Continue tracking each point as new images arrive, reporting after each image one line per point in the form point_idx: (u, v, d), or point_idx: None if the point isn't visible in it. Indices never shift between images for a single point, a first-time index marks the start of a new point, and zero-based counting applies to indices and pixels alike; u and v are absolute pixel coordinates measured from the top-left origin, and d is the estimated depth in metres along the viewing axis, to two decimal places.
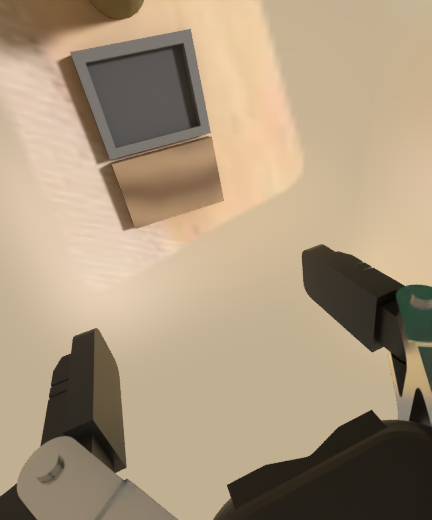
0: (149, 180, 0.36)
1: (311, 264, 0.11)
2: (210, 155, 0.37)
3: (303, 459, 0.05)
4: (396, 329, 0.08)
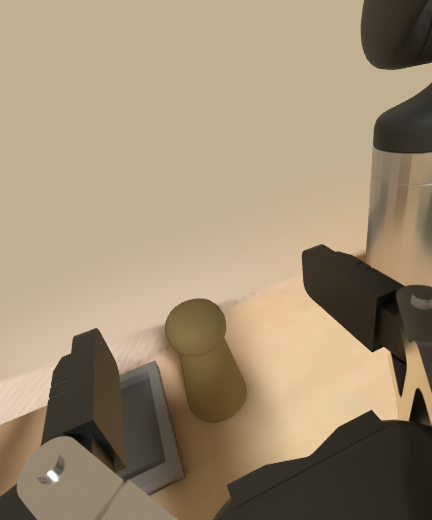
0: (25, 442, 0.28)
1: (311, 264, 0.11)
2: None
3: (303, 458, 0.05)
4: (395, 329, 0.08)
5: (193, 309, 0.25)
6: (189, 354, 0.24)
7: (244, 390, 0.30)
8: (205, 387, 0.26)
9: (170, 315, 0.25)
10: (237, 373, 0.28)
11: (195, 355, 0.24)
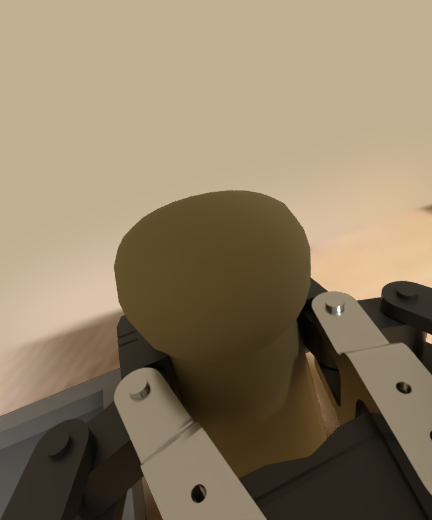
0: None
1: None
2: None
3: (303, 459, 0.05)
4: (314, 334, 0.09)
5: (207, 204, 0.08)
6: (193, 352, 0.07)
7: None
8: (241, 453, 0.09)
9: (132, 228, 0.08)
10: (318, 405, 0.11)
11: (214, 356, 0.07)
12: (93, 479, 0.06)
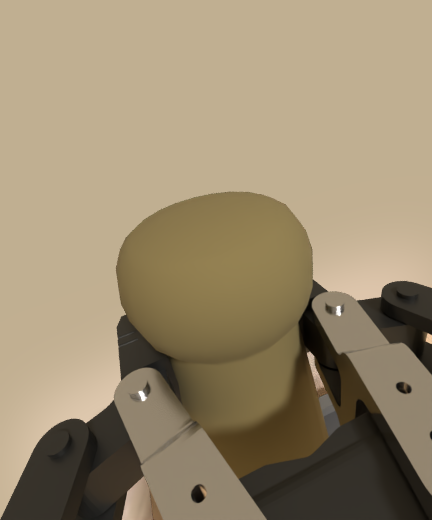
0: None
1: None
2: None
3: (303, 459, 0.05)
4: (314, 334, 0.09)
5: (209, 205, 0.08)
6: (196, 354, 0.07)
7: None
8: (243, 455, 0.09)
9: (134, 229, 0.08)
10: (319, 406, 0.11)
11: (216, 359, 0.07)
12: (93, 479, 0.06)
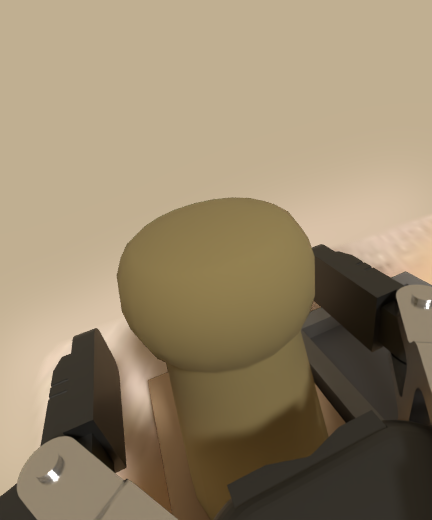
0: None
1: None
2: None
3: (303, 459, 0.05)
4: (396, 329, 0.08)
5: (210, 212, 0.07)
6: (198, 363, 0.07)
7: None
8: (244, 462, 0.09)
9: (135, 236, 0.08)
10: (321, 412, 0.11)
11: (218, 368, 0.07)
12: None
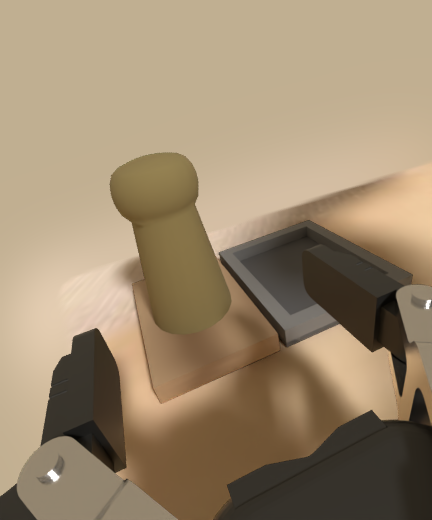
0: None
1: (311, 264, 0.11)
2: (244, 340, 0.19)
3: (303, 458, 0.05)
4: (395, 329, 0.08)
5: (150, 156, 0.17)
6: (141, 213, 0.16)
7: (229, 297, 0.22)
8: (170, 276, 0.18)
9: (118, 168, 0.18)
10: (218, 269, 0.21)
11: (150, 215, 0.16)
12: None
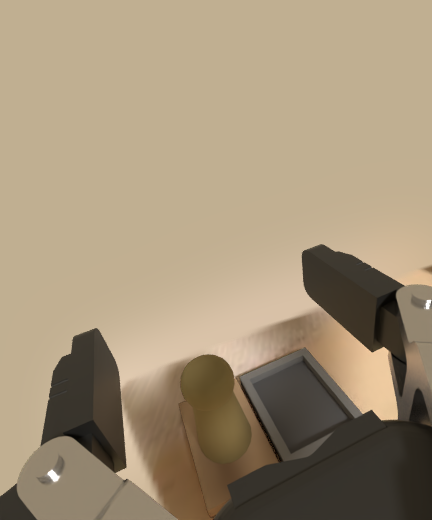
0: None
1: (311, 264, 0.11)
2: None
3: (303, 459, 0.05)
4: (396, 329, 0.08)
5: (205, 367, 0.28)
6: (202, 409, 0.27)
7: (250, 433, 0.33)
8: (215, 435, 0.29)
9: (185, 372, 0.29)
10: (243, 419, 0.32)
11: (207, 410, 0.27)
12: None
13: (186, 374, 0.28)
